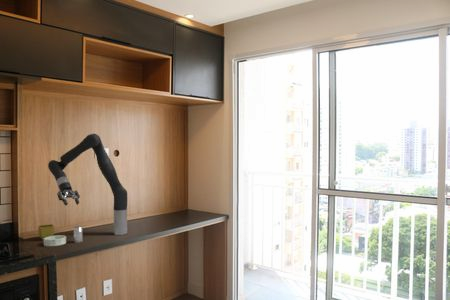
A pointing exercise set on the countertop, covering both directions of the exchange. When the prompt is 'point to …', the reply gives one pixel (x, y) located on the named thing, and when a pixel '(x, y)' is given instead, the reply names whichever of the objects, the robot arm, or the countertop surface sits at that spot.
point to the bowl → (55, 240)
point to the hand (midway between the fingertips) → (72, 204)
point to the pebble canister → (77, 234)
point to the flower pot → (46, 231)
